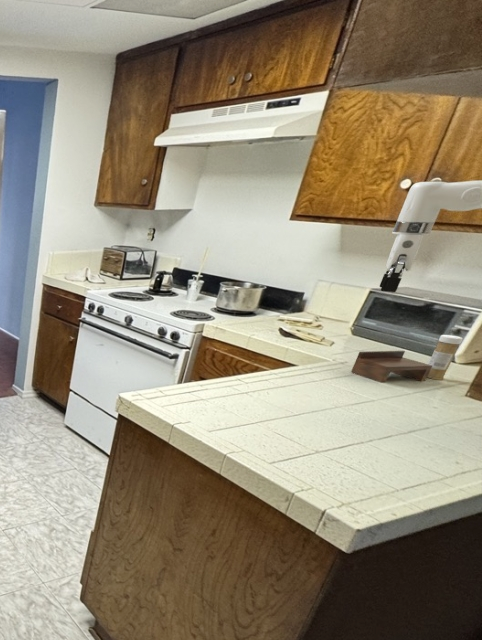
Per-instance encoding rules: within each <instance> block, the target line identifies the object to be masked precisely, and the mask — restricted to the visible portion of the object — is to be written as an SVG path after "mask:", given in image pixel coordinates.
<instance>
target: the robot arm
mask: <svg viewBox="0 0 482 640" xmlns="http://www.w3.org/2000/svg"><path fill="white" fill-rule="evenodd" d="M401 207H402V208H401V210H400V212H399V215H398V218H397V220H396V223H395V225H394V227H393V230H392V231H391V234H392V235H396V237H395V239H394V242H393V244H392V247H391V249H390V252H389V254H388V258H387V261H386V265H385V267H386V271H385V273H384V274H383V276H382V278H381V280H380V283H379V288H380V291H381V292H388V293H396V292H397V290H398V288H399V286H400V283H401V281H402V279H403V278H402V277H403V274H404V270H405V271H406V272H409V271H411V270H412V268H413V265H414V262H415V260H416V258H417V255H418V252H419V250H420V247H421V245H422V242H423V239H424V236H430V234H431V232H432V230H433V227H434V225H435V223H436V221H437V218H438V216H439V213H440V211H441V209H443V210H446V211H450V212H468V211H473V210H482V180H481V179H480V180H467V181H466V180H465V181H457V182H455V181H454V182H446V181H419V182H415V183H413V184H412V185H411V187H410V188H409V190H408V192H407V195H406V198H405V200H404V203H403V205H402V206H401Z"/></svg>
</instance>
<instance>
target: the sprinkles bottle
mask: <svg viewBox="0 0 482 640" xmlns="http://www.w3.org/2000/svg"><path fill="white" fill-rule="evenodd" d="M463 340H464V338H463V337H462V336H458V335H453V334H441V335H440V336H439V339H438V343H437V345H436V347H435V349H434V350H433V353H432V355H431V357H430V359H429V361H428V363H427V364H428V365H432V368H431V370H430V372H429V374H428V376H427V378H428V379H431V380H440V381H441V380H444V377H445V375H446V373H447V371H448V369H449V368H450V366H451V363H452V362H453V359H454V356H455V354H456V353H457V350H458V347H459V346H460V345H461V344H462V342H463ZM427 378H426V379H427Z"/></svg>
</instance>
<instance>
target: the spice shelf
mask: <svg viewBox="0 0 482 640" xmlns="http://www.w3.org/2000/svg"><path fill="white" fill-rule="evenodd" d="M405 352H406V351H405V350H370V351H359V352H358V355H357V356H356V359H355V361H354V364H353V366H352V368H351V371H350V373H351V372H352V373H351V374H354V373H355V375H357V376H360V377H364V378H367V379H369V380H373V381H376V382H379V383H386V382H387V379H388V377H389V376H390V373H393V374H397V375H400V376H403V377H407V378H410V379H413V380H415V381H419V382H425V381H426V380H427V376H428V374H429V372H430V370H431V368H432V365H428V363H424V362H421V361H417V360H413V359H410V358H406V357H404V355H405V354H406V353H405Z"/></svg>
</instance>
